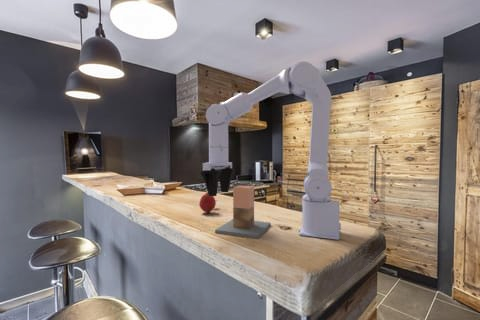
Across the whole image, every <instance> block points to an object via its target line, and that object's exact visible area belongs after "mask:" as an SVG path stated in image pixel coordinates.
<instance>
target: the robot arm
mask: <svg viewBox="0 0 480 320" xmlns="http://www.w3.org/2000/svg"><path fill="white" fill-rule="evenodd" d="M290 91H291V92H292V94H294V95H295V96H297V97H300V98H303V99H304V100H306V101H307V102H308V103H309V104H310V105H311V116H310V117H311V118H310V119H311V121H310V133H309V134H310V137H309V153H308V164H307V165H308V166H307V174H306V176H305V178H304V179H303V188H304V192H305V194H303V196H302V198H301V199H302V201H301V206H302V209H301V211H302V214H301V215H302V218H301V219H302V220H301V221H302V226H301V228H300V231H299V233H298V235H299V236H306V237H313V238H322V239H329V240H331V239H332V240H340V231H341V229H342V228H341V227H342V225H341V224H342V223H341V222H340V201H339V200H333V199H332V197H331V196H330V194H331V192H332V183H331V181H330V180H329V168H328V167H329V166H328V155H329V142H330V141H329V140H330V139H329V137H330V126H331V125H330V124H331V108H332V106H331V105H332V94H331V91H330V89H329V87H328V85H327V84H326V83H325V81H324V79H323V77H322V75H321V72H320V69H319V68H317V67H316V66H315V65H313V64H312V63H311V62H309V61H299V62H297V63H295V64H293V66H292V67H291V66H288V67H287V68H285V69H283V70H282V71H281V72H279V73H278V74H277V75H275V76H273V77H272V78H271V79H269V80H266V81H265V82H264V83H263V84H261V85H260V86H258V87H257V88H255V89H253V90H251V91H250V92H248V93H246V92H240V93H239V92H235V93H233V97H231V98H229V99H227V100H225V101H221V102H219V103H214V104H211V105H210V106H209V107H208V108H207V109H206V112H205V118H206V121H207V123H208V162H202V170H200V175H201V177H202V179H203V180H204V183H205V186H206V190H207V191H208V194H209V196H213V197H216V196H217V194H218V186H219V187H220V192H221V193H229V191H230V186H231V181H232V179H233V176H234V174H235V172H236V169H235V168H233V162H231V161H230V162H229V125H230V124H231V121H234V120H236V119H238V118H240V117H242V116H243V115H245V114H247V113H249V112H251V111H252V109H253V106H254V105H255V104H257V103H259V102H260V101H261V102H262V101H263V100H265V99H267V98H269V97H272V96H273V95H276V94H277V93H282V94H288V95H290V94H291V93H290ZM207 191H206V192H207Z"/></svg>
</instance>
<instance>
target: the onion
mask: <svg viewBox="0 0 480 320" xmlns="http://www.w3.org/2000/svg"><path fill="white" fill-rule="evenodd" d="M216 204H217V202H216V198H215V196H209V194H208V191H206V192H205V193H204V194H203V195H202V196H201V198H200V200H199V207H200V210H202V211H203V212H205V213H206V214H210V213H211V212H212V211H213V210H214V209H215V208H216Z"/></svg>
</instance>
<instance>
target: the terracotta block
mask: <svg viewBox="0 0 480 320" xmlns="http://www.w3.org/2000/svg"><path fill="white" fill-rule="evenodd" d="M232 188H233V189H232V191H233V193H232V195H233V199H232V202H233V203H232V205H233V207H234V208H245V209H249V208H251V207H253V206H254V207H255V186H254V185H252V186H251V185H250V186H249V185H237V186H234V187H232Z"/></svg>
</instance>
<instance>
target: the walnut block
mask: <svg viewBox="0 0 480 320" xmlns="http://www.w3.org/2000/svg"><path fill="white" fill-rule="evenodd" d="M232 215H233V217H232V219H233V227H234V228H242V229H250V228H251V227H252V226H253V225H254V221H255V205H254V206H253V207H251V208H249V209H245V208H234V207H233V208H232Z"/></svg>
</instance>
